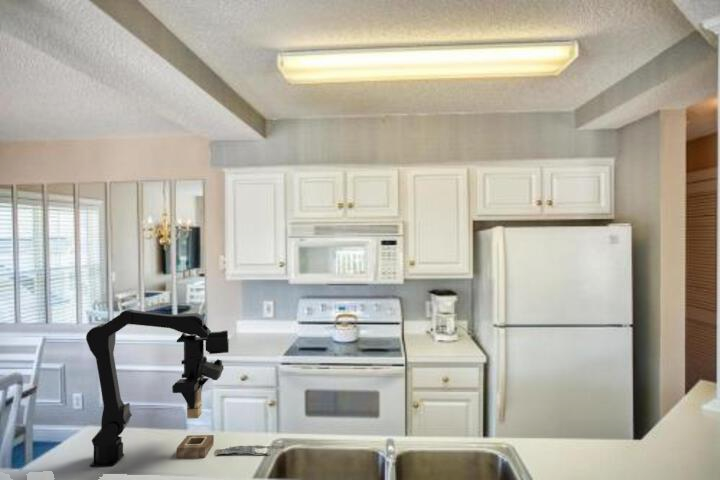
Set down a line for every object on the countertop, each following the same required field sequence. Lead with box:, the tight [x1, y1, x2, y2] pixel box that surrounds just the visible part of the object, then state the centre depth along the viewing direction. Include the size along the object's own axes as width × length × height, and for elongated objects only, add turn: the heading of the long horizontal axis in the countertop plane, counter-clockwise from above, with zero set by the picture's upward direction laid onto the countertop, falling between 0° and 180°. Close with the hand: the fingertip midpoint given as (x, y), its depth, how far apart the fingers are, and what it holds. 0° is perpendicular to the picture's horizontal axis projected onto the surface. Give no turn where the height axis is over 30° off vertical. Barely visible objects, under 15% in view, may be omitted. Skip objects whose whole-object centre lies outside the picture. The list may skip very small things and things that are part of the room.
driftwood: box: [214, 443, 286, 457], centre depth 126 cm, size 21×7×2 cm, turn 90°
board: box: [176, 434, 215, 459], centre depth 126 cm, size 8×8×3 cm
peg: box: [186, 385, 203, 420], centre depth 126 cm, size 3×3×9 cm
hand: (194, 406), depth 126 cm, fingers closed on peg, 3 cm apart
